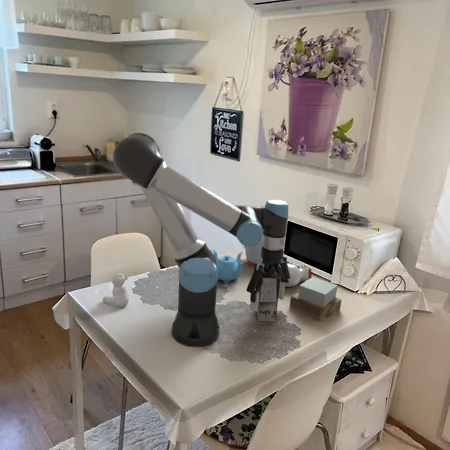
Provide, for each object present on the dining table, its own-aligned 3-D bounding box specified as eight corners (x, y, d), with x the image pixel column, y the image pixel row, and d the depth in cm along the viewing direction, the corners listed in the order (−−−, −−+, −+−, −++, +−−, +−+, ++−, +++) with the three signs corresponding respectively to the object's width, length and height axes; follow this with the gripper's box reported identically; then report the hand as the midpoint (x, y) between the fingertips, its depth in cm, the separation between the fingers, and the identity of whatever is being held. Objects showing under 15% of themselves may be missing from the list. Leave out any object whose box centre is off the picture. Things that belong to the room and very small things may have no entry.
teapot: (241, 273, 182) (243, 251, 179) (241, 287, 169) (243, 263, 166) (211, 271, 182) (212, 249, 179) (209, 284, 170) (210, 261, 167)
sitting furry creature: (127, 295, 157) (126, 265, 153) (137, 305, 150) (137, 274, 146) (101, 301, 151) (101, 270, 147) (111, 312, 145) (110, 280, 141)
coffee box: (276, 322, 145) (281, 279, 140) (257, 321, 145) (261, 277, 140) (273, 309, 154) (278, 267, 149) (256, 307, 154) (260, 266, 149)
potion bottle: (275, 290, 172) (301, 286, 181) (292, 284, 164) (317, 281, 173) (269, 268, 174) (295, 265, 183) (286, 261, 167) (311, 259, 176)
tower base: (318, 323, 147) (320, 310, 146) (289, 308, 156) (290, 296, 155) (339, 312, 156) (341, 299, 155) (310, 298, 165) (312, 286, 163)
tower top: (323, 307, 148) (325, 294, 146) (298, 297, 154) (299, 285, 152) (335, 297, 156) (337, 285, 154) (310, 289, 161) (312, 277, 160)
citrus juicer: (258, 253, 205) (262, 213, 199) (284, 266, 192) (289, 224, 186) (233, 259, 196) (236, 218, 190) (259, 273, 183) (263, 229, 177)
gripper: (255, 258, 131) (250, 319, 137) (304, 242, 148) (297, 297, 154) (238, 251, 136) (233, 310, 142) (287, 236, 153) (281, 290, 159)
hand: (266, 304), depth 148 cm, fingers open, 13 cm apart
